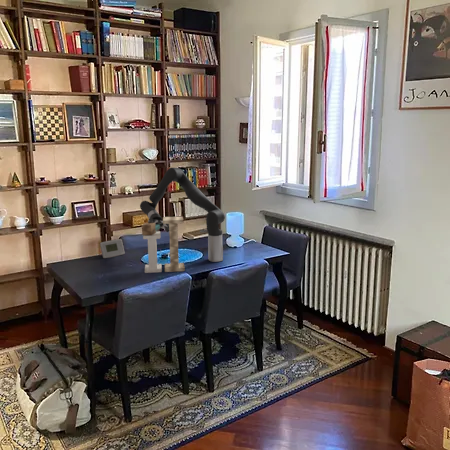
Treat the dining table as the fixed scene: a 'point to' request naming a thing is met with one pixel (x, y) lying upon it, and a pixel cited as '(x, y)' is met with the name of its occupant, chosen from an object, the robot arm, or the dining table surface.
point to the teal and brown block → (149, 228)
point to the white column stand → (152, 253)
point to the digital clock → (112, 248)
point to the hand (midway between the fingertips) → (162, 229)
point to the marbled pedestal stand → (173, 244)
